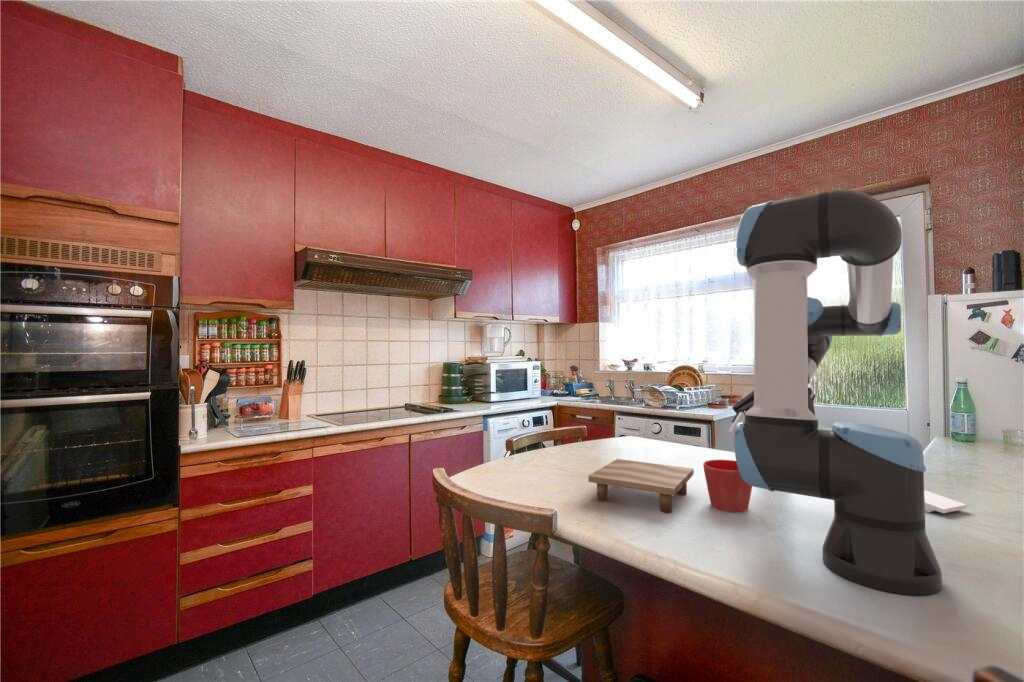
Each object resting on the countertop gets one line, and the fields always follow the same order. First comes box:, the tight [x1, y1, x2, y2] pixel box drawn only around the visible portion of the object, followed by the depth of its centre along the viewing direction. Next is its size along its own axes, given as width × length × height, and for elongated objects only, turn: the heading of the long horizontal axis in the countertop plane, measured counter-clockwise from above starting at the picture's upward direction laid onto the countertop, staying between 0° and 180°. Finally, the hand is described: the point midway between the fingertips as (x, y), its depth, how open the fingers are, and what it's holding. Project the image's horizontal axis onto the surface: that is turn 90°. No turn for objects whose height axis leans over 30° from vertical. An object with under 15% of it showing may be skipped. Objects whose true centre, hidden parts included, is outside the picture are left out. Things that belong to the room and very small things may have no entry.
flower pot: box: [702, 459, 753, 513], centre depth 107 cm, size 11×11×10 cm
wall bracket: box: [924, 489, 967, 514], centre depth 114 cm, size 10×7×28 cm
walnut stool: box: [587, 458, 695, 514], centre depth 114 cm, size 20×20×6 cm
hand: (756, 439), depth 112 cm, fingers open, 13 cm apart
